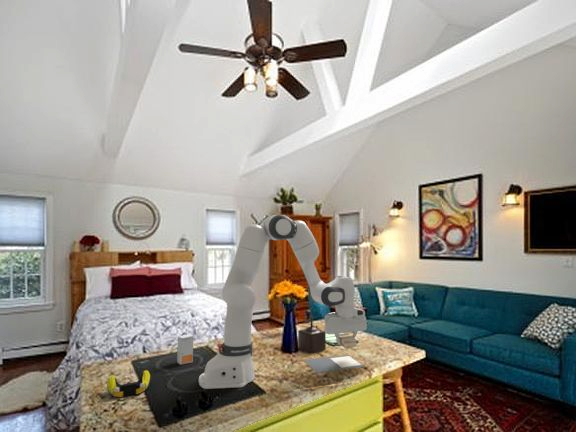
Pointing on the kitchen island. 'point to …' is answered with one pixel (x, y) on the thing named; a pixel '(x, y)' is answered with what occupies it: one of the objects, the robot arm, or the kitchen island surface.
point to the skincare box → (185, 349)
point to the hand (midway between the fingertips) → (346, 341)
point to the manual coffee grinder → (311, 337)
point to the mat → (333, 363)
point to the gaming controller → (128, 386)
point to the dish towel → (334, 339)
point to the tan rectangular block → (347, 340)
